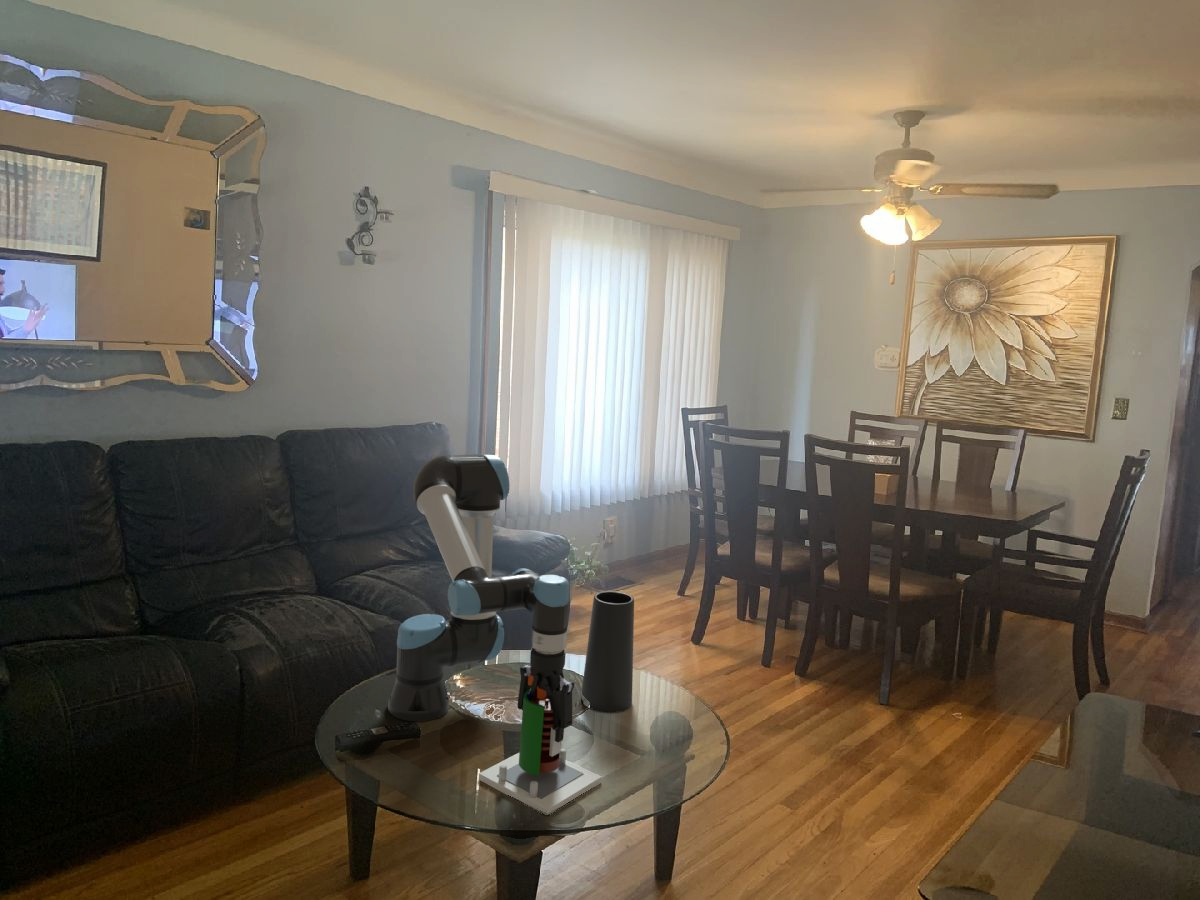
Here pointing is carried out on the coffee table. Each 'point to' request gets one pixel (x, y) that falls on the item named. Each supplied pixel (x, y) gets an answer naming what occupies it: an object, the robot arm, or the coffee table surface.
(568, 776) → the mounting board
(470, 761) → the coffee table surface
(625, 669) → the vase
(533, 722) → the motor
